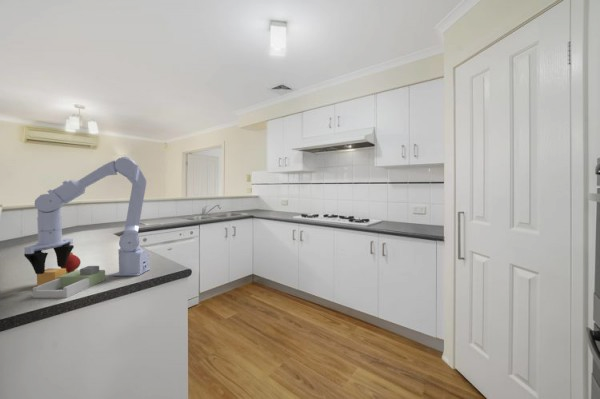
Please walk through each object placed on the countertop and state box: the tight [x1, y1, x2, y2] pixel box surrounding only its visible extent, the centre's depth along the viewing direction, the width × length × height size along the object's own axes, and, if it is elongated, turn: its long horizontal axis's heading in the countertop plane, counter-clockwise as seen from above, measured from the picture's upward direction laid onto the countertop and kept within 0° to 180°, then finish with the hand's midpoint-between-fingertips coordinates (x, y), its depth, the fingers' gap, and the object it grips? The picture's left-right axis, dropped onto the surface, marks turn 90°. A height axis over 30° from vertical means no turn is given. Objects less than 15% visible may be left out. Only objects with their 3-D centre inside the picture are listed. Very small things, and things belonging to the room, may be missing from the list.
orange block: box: [36, 267, 67, 286], centre depth 85 cm, size 6×4×5 cm, turn 90°
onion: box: [60, 251, 81, 273], centre depth 97 cm, size 6×6×8 cm
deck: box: [32, 265, 106, 299], centre depth 82 cm, size 10×15×6 cm, turn 1°
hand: (51, 269), depth 85 cm, fingers open, 7 cm apart
